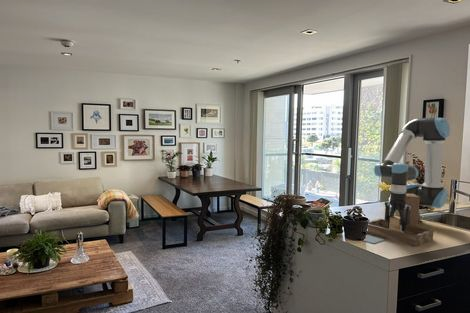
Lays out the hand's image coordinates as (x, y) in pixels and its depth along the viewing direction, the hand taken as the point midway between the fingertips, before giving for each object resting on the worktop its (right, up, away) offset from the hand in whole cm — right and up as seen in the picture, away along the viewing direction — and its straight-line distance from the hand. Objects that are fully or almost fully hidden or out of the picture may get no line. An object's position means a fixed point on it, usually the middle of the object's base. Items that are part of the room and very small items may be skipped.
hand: (396, 235), depth 181 cm
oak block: (0, 0, 0) cm, 0 cm away
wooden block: (+12, 0, +14) cm, 18 cm away
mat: (-17, 0, -7) cm, 18 cm away
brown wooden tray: (0, 0, 0) cm, 0 cm away
